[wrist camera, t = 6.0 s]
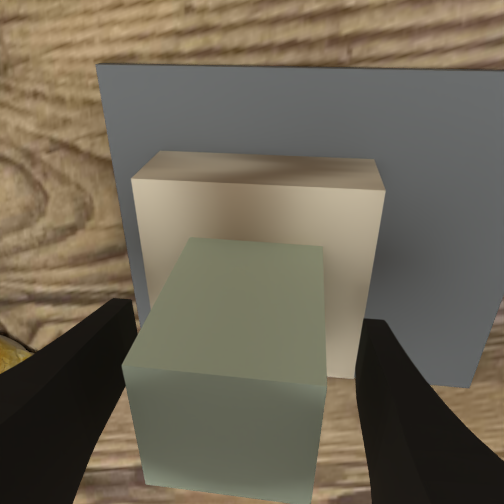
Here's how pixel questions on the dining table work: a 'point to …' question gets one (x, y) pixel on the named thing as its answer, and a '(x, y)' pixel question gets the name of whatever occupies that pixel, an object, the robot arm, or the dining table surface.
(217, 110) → the mat
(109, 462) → the dining table surface
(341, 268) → the base
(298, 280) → the post
